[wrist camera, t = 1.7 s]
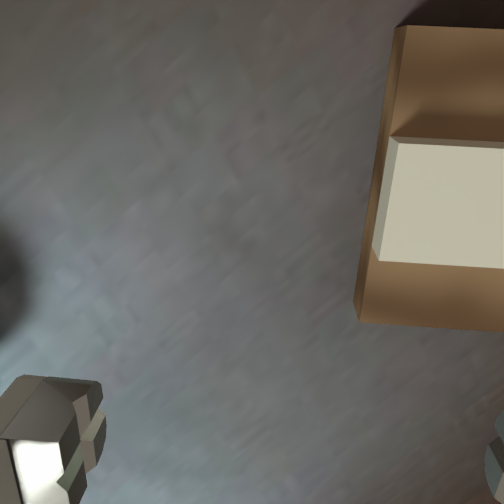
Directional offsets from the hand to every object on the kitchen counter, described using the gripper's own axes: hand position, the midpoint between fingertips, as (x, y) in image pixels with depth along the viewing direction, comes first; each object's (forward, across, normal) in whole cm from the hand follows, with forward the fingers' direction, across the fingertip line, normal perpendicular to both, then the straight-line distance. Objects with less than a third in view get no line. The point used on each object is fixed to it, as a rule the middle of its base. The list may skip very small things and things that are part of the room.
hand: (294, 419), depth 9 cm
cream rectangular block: (+17, -9, 0) cm, 19 cm away
